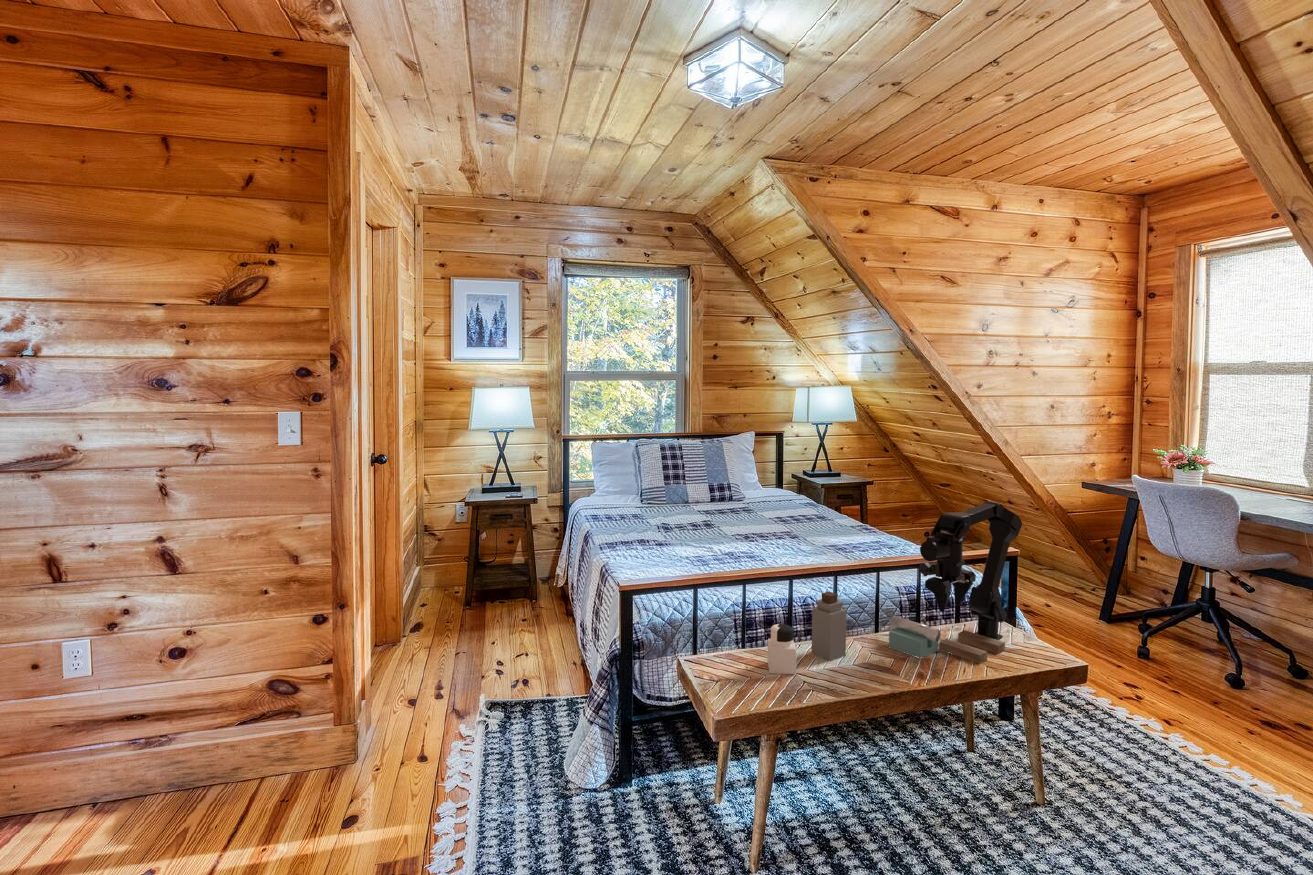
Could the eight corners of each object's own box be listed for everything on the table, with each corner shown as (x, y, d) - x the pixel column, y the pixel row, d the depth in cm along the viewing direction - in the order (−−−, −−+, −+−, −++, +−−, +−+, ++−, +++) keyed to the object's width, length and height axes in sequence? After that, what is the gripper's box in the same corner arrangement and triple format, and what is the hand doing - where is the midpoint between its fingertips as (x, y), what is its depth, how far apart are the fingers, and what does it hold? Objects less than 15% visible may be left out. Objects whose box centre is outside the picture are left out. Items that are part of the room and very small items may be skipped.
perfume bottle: (845, 655, 183) (846, 594, 182) (829, 661, 179) (831, 599, 178) (827, 647, 189) (828, 588, 187) (811, 653, 185) (812, 592, 183)
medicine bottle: (793, 663, 178) (793, 621, 177) (796, 674, 171) (796, 631, 170) (767, 662, 178) (767, 621, 178) (769, 673, 171) (769, 630, 170)
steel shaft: (889, 628, 192) (889, 617, 191) (896, 625, 194) (896, 614, 193) (933, 643, 180) (934, 630, 180) (940, 640, 183) (940, 627, 182)
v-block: (906, 639, 194) (907, 623, 194) (937, 650, 187) (938, 633, 186) (888, 647, 189) (889, 631, 188) (920, 658, 181) (920, 641, 180)
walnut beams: (964, 637, 196) (964, 630, 196) (1004, 650, 187) (1005, 642, 186) (939, 649, 187) (939, 641, 187) (980, 663, 178) (980, 655, 177)
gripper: (941, 546, 198) (939, 595, 200) (908, 556, 187) (907, 607, 188) (977, 553, 190) (975, 604, 191) (945, 564, 178) (943, 618, 179)
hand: (949, 608), depth 187 cm, fingers open, 9 cm apart
